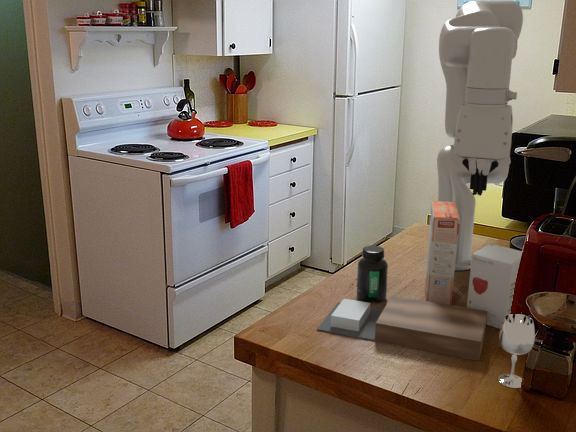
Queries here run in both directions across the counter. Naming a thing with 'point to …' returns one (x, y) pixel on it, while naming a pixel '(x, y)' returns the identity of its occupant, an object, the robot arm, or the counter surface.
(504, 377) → the wineglass
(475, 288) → the supplement box
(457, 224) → the cracker box
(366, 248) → the supplement bottle
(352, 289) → the counter surface
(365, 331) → the mat
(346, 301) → the tile
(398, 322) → the brown wooden block
